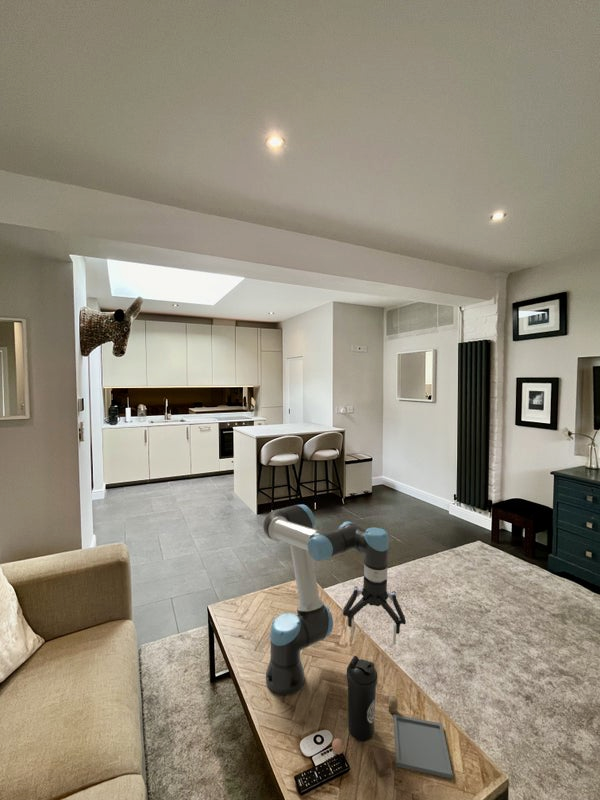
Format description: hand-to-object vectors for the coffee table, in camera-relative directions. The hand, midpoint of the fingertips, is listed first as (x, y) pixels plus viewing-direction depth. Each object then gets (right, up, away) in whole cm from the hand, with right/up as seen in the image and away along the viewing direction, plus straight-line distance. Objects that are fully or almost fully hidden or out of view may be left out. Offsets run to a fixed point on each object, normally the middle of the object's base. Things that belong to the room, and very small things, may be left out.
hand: (372, 638), depth 116 cm
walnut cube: (+1, -33, -10) cm, 34 cm away
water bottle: (-4, -32, +2) cm, 32 cm away
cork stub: (+9, -32, +8) cm, 34 cm away
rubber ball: (-12, -32, -6) cm, 35 cm away
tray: (+15, -32, -3) cm, 36 cm away
